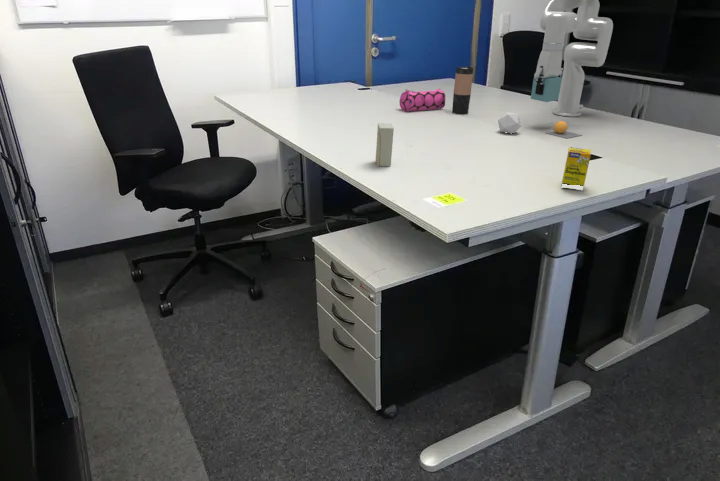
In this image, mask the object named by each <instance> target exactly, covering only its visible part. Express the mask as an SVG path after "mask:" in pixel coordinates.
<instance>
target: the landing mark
mask: <svg viewBox="0 0 720 481" xmlns="http://www.w3.org/2000/svg"><path fill="white" fill-rule="evenodd" d="M545 134H547V135H552V136H554V137H557V138H559V137H560V138H563V139H572V138H576V137H581V136H582V134H579V133H574V132H572V131H567V130H566V131H565V132H564V133H562V134H558V133H556V132H555V130H551V131H547V132H545Z"/></svg>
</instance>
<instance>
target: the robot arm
mask: <svg viewBox="0 0 720 481" xmlns="http://www.w3.org/2000/svg"><path fill="white" fill-rule="evenodd" d="M576 8H578V9H577V13H575V12H572V11H570V10H573V9H576ZM599 11H600V1H599V0H550V1H549V2H548V3H547V5H546V6H545V9H544V10H543V13H542V15H541V17H540V21H539V25H540V26H539V27H540V29H542V30H541V31H544V38H543V41H542V42H543V43H542V50H541V51H540V54H539V58H538V60H537V65H536V70H535V72H534V74H533V75H534V76H535V81H536V91H535V94H538V95H542V94H543V89H544V85H543V83H544V80H545V78H552V77H561V76H562V77H561V78H562V81H561V87H560V93H559V98H558V100H557V104H556V105H557V106H556V109H552V113H553V115H558V116H562V117H563V116H564V117H573V118H574V117H576V118H577V117H580V116H582V112H580V111H579V110H581V109H583V108H584V105H583V104H581V97H582V92H583V87H584V82H585V78H586V77H585V76H586V75H585V71H584V70H583V68H582V67H584V66H585V67H592V68H593V67H596V68H599V67H602V66H604V64H605V62H606V61H605V60H606V58H607V55H608V50H609V47H610V43H611V38H612V34H613V29H614V23H613V20H612V19H611V18H610V17H604V16H602V17H601V16H599ZM571 33H572V35H573V37H574V38H575V39H579V40H587V41H596V42H597V43H590V42H581V41H579V42H577V41H576V42H570V43H569V44H567V45H566V47H565V49H564V44H565V43H564V42H565V38H566V37H565V36H566V34H571ZM563 49H564V55H563ZM563 56H564V57H563ZM563 58H564V59H563ZM562 60H563V61H564V62H563V63H564V64H563V63H562ZM562 64H563V70H562V69H561V68H562ZM534 76H533V77H534ZM540 78H543V79H542V81H541V79H540Z"/></svg>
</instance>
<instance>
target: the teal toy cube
mask: <svg viewBox="0 0 720 481" xmlns="http://www.w3.org/2000/svg"><path fill="white" fill-rule="evenodd" d="M540 79H541V81H542V79H543V78H540ZM561 82H562V77H561V76H560V77H552V78H545V80H544V83H543V85H544V89H543V94H542V95H538V94H535V91H536V81H535V76H533V79H532V88H531V93H530V94H531V95H530V99H531V100H534V101H535V100H536V101H539V102H544V103H549V102H554V101H558V98H559V93H560V87H561Z"/></svg>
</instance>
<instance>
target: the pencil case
mask: <svg viewBox="0 0 720 481" xmlns="http://www.w3.org/2000/svg"><path fill="white" fill-rule="evenodd" d="M445 105H446V94H445V92H444V90H442V89H441V88H438V89H435V90H428V91H427V90H425V91H424V90H422V91H421V90H420V91H415V90H414V91H413V90H411V89H410V90H408V89H407V88H406V89H405V91H404V92H402V93H401V95H400V97H399V107H400V109H401V110H402V111H404V112H419V111H432V110H440V109H441V110H442V109H443V108H445Z"/></svg>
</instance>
